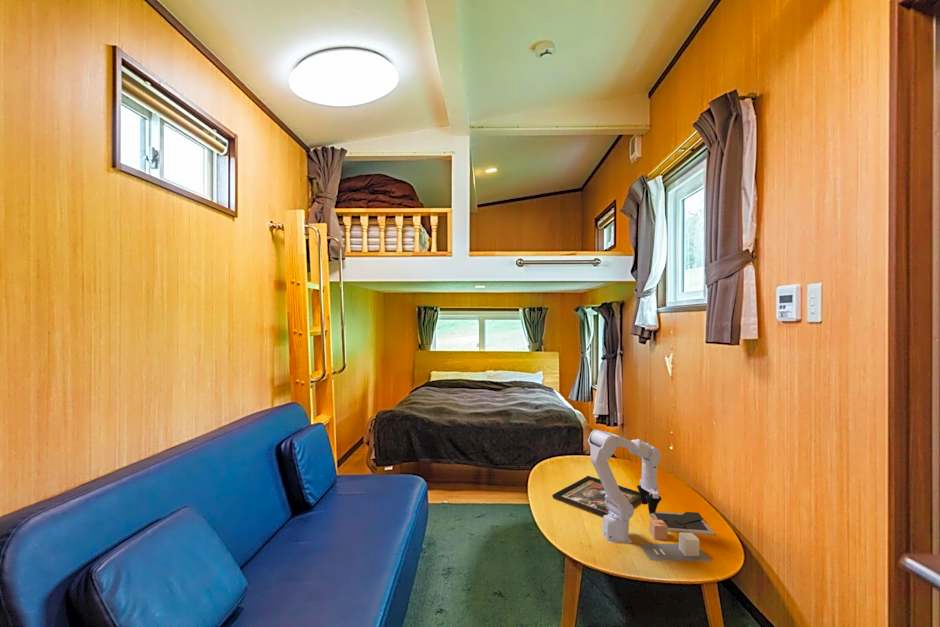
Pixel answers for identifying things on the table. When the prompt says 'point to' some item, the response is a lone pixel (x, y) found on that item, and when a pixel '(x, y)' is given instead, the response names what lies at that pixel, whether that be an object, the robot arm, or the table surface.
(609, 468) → the robot arm
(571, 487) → the framed painting
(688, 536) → the tan block
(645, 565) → the table surface
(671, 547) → the grey board
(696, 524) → the picture frame
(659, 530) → the terracotta block
